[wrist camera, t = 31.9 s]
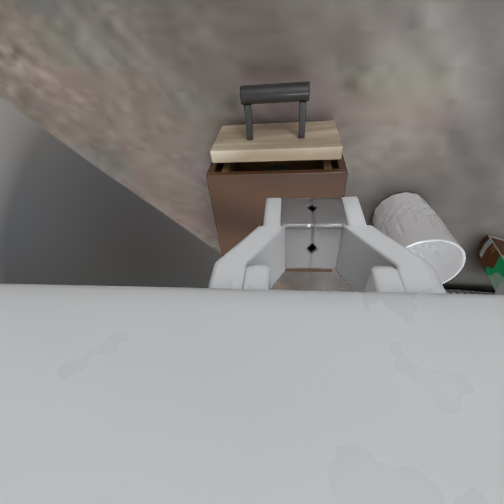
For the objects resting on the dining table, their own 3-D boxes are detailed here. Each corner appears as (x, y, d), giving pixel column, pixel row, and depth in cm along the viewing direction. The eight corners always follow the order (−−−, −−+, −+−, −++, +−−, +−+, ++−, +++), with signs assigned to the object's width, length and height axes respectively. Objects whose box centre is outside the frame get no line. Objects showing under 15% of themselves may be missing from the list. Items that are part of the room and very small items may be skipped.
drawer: (215, 76, 29) (199, 96, 24) (340, 68, 28) (351, 87, 23) (234, 216, 41) (227, 248, 36) (324, 215, 39) (328, 249, 34)
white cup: (355, 218, 40) (369, 270, 33) (404, 176, 35) (434, 227, 28) (393, 244, 42) (415, 299, 35) (445, 208, 38) (482, 263, 30)
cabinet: (220, 140, 34) (205, 175, 28) (337, 136, 33) (348, 172, 27) (234, 229, 43) (225, 270, 37) (325, 229, 42) (331, 272, 36)
